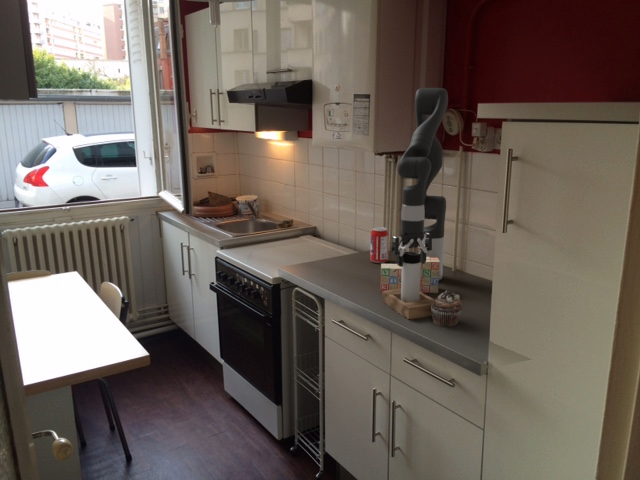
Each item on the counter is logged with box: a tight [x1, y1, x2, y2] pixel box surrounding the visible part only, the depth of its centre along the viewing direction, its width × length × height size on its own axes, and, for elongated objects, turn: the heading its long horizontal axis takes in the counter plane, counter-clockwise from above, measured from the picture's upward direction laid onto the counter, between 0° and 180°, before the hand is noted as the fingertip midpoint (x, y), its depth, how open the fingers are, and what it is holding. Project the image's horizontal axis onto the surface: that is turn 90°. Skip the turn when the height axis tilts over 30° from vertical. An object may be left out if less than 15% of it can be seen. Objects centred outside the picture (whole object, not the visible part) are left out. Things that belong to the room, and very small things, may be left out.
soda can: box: [369, 226, 390, 264], centre depth 243 cm, size 8×8×15 cm
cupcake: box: [431, 289, 463, 327], centre depth 176 cm, size 10×10×10 cm
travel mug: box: [401, 251, 421, 303], centre depth 187 cm, size 6×7×20 cm
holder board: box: [381, 289, 435, 320], centre depth 189 cm, size 18×12×4 cm, turn 22°
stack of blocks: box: [380, 257, 440, 294], centre depth 207 cm, size 21×6×12 cm, turn 84°
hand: (411, 264), depth 186 cm, fingers open, 8 cm apart
